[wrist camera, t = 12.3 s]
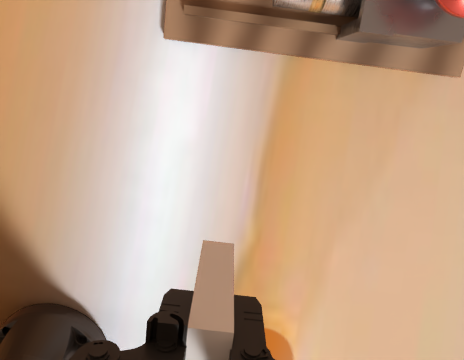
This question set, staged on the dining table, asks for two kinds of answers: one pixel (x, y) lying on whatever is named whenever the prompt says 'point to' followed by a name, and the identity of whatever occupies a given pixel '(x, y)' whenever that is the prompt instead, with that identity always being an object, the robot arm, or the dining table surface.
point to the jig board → (297, 35)
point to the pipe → (323, 6)
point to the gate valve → (407, 23)
